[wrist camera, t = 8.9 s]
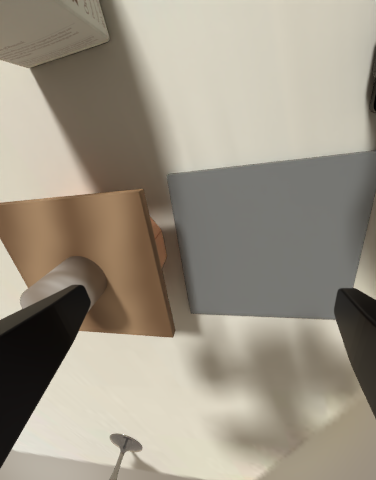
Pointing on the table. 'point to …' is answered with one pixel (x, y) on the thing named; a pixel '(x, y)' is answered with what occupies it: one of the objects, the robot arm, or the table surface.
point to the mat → (273, 234)
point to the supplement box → (48, 29)
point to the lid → (92, 258)
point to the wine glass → (123, 449)
